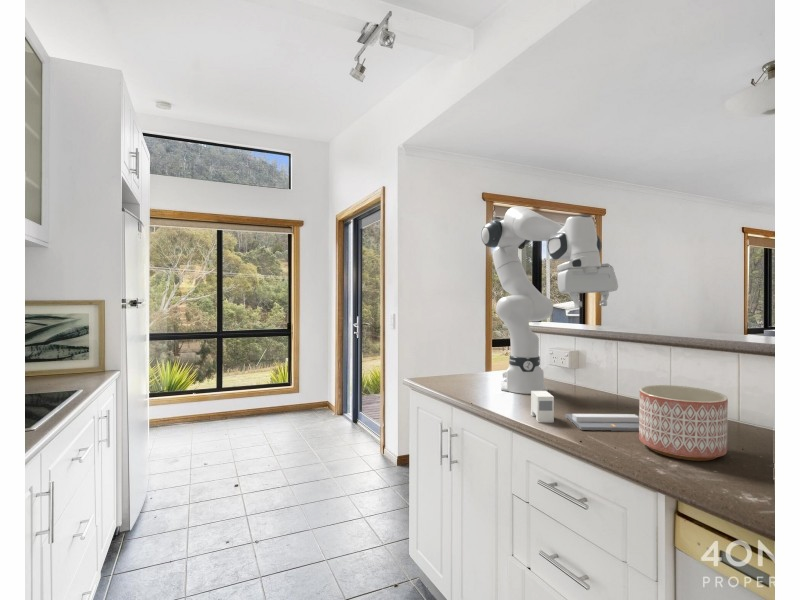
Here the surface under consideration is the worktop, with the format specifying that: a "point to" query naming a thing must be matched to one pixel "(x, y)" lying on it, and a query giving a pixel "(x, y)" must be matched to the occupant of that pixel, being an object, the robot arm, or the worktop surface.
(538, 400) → the block
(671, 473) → the worktop surface
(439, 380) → the worktop surface
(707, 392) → the planter
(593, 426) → the rail panel
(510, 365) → the robot arm
